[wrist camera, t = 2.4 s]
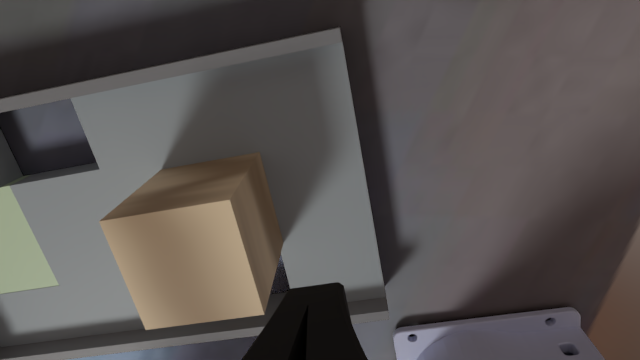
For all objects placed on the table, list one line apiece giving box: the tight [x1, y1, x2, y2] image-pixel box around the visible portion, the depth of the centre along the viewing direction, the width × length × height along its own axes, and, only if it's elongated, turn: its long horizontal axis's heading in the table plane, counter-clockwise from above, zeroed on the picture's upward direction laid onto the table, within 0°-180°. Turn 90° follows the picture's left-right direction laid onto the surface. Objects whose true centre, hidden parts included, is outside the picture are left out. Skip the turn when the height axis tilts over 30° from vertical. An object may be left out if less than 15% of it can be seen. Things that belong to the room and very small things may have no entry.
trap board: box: [0, 27, 389, 360], centre depth 19 cm, size 22×13×4 cm, turn 101°
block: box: [99, 152, 283, 330], centre depth 16 cm, size 4×4×5 cm
